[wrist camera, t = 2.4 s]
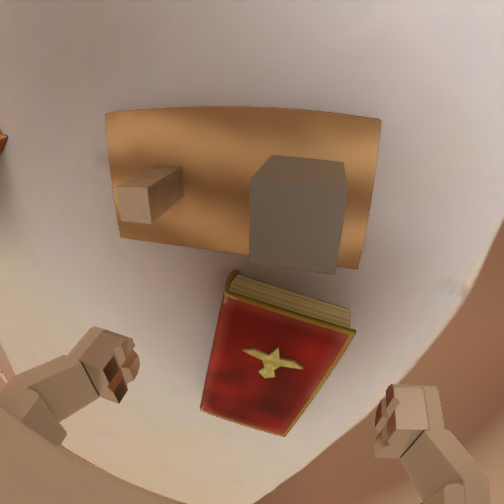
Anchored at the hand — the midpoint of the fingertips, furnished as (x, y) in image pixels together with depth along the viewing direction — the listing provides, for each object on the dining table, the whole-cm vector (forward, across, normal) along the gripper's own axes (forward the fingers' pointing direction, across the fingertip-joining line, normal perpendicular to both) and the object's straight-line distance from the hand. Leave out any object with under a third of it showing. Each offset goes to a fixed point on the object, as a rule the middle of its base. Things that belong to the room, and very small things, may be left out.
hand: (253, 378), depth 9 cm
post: (+17, +11, 0) cm, 20 cm away
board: (+18, +6, 0) cm, 19 cm away
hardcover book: (+19, +2, +20) cm, 27 cm away
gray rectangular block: (+17, 0, 0) cm, 17 cm away
